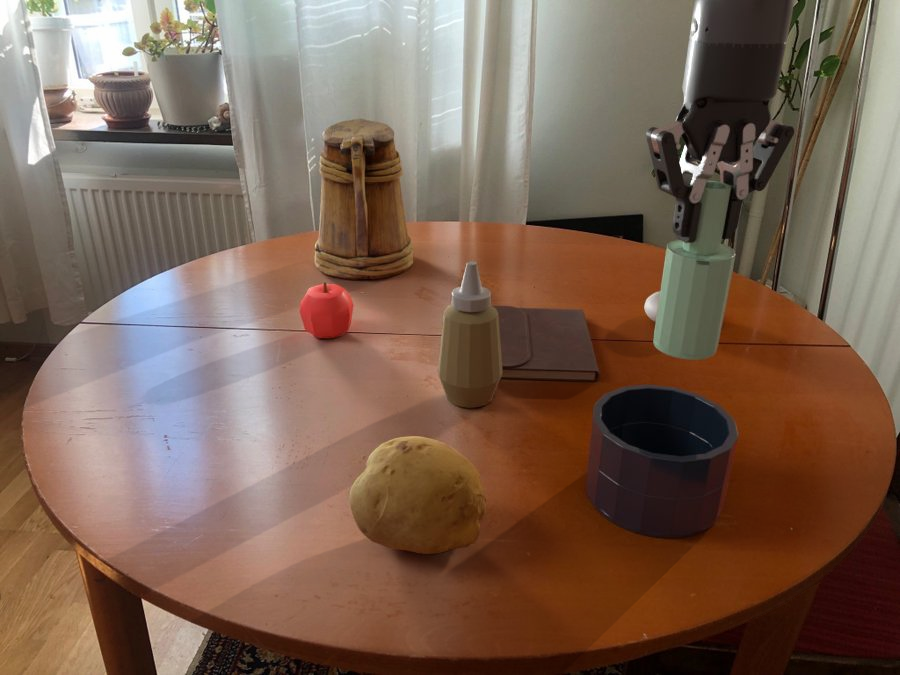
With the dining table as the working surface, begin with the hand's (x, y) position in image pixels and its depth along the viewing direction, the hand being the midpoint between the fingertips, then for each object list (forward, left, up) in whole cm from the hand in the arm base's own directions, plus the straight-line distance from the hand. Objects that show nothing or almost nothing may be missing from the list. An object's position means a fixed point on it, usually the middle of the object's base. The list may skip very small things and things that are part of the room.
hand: (703, 237), depth 68 cm
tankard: (+50, -52, -27) cm, 77 cm away
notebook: (+16, -27, -27) cm, 41 cm away
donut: (-4, -41, -27) cm, 49 cm away
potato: (+23, +15, -27) cm, 38 cm away
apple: (+47, -25, -27) cm, 60 cm away
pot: (+1, +4, -26) cm, 27 cm away
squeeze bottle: (+23, -11, -27) cm, 37 cm away
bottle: (0, 0, -11) cm, 11 cm away
